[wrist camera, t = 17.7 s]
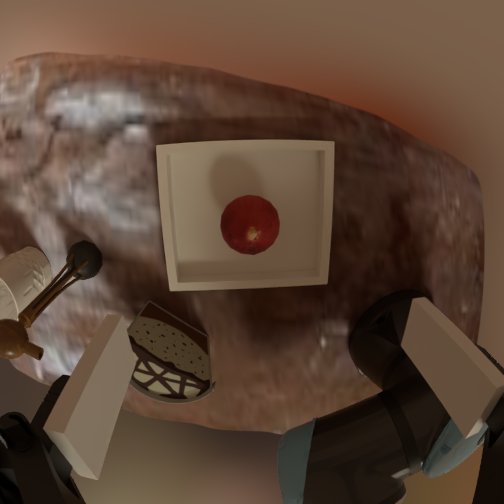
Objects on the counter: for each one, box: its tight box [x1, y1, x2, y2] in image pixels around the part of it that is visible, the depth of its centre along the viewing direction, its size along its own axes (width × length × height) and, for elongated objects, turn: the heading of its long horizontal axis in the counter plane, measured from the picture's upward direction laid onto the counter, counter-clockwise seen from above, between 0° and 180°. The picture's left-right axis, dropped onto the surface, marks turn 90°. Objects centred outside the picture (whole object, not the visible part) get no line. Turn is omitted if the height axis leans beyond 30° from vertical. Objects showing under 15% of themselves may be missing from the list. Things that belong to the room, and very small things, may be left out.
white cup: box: [0, 246, 52, 321], centre depth 30 cm, size 8×8×10 cm
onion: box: [220, 195, 280, 255], centre depth 30 cm, size 6×6×8 cm
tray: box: [156, 140, 334, 291], centre depth 33 cm, size 18×16×3 cm
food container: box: [127, 300, 216, 404], centre depth 35 cm, size 12×6×10 cm, turn 52°
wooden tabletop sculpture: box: [0, 240, 103, 360], centre depth 26 cm, size 6×5×20 cm
